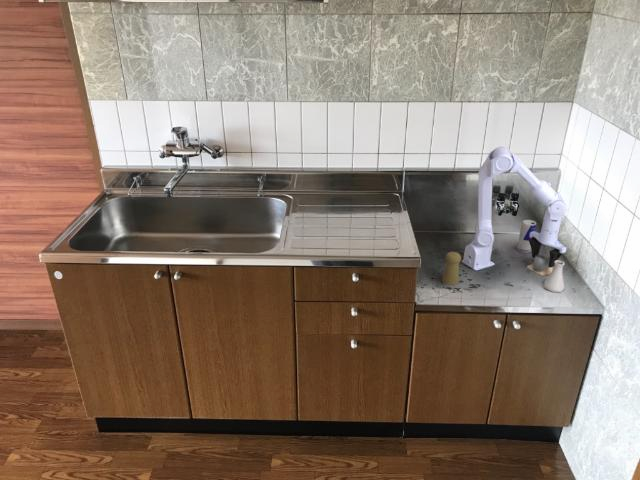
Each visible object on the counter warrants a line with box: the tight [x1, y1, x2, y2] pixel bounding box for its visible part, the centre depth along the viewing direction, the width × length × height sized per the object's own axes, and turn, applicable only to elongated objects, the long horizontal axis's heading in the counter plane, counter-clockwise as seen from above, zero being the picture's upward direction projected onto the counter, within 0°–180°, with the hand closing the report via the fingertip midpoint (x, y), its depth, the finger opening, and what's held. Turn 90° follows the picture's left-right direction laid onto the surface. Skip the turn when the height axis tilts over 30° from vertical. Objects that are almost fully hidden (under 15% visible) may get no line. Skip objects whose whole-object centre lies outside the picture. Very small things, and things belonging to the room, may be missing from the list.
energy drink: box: [516, 219, 537, 254], centre depth 201 cm, size 5×5×12 cm
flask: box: [542, 259, 566, 293], centre depth 177 cm, size 7×7×10 cm
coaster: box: [526, 263, 554, 277], centre depth 190 cm, size 7×7×1 cm
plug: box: [533, 252, 550, 272], centre depth 189 cm, size 8×4×5 cm, turn 117°
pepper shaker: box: [441, 251, 462, 286], centre depth 181 cm, size 6×6×11 cm
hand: (542, 261), depth 189 cm, fingers open, 7 cm apart
